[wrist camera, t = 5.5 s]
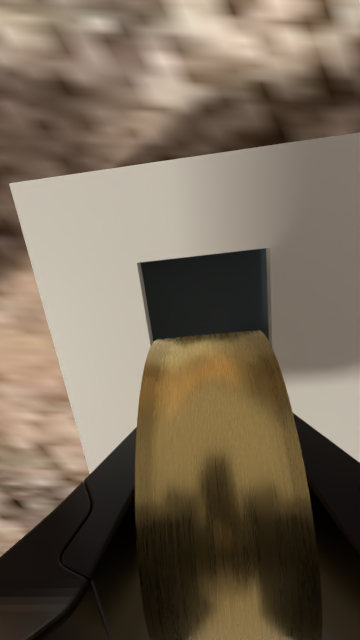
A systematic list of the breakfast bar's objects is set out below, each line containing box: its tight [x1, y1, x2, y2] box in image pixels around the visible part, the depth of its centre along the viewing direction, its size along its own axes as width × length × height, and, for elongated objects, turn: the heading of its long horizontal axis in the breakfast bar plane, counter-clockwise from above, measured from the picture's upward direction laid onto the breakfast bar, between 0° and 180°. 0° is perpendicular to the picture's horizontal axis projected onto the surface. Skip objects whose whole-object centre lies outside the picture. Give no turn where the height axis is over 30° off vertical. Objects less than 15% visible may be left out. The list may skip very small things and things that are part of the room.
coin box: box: [9, 132, 360, 474], centre depth 15 cm, size 14×12×7 cm
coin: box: [135, 330, 322, 640], centre depth 7 cm, size 6×2×6 cm, turn 7°
